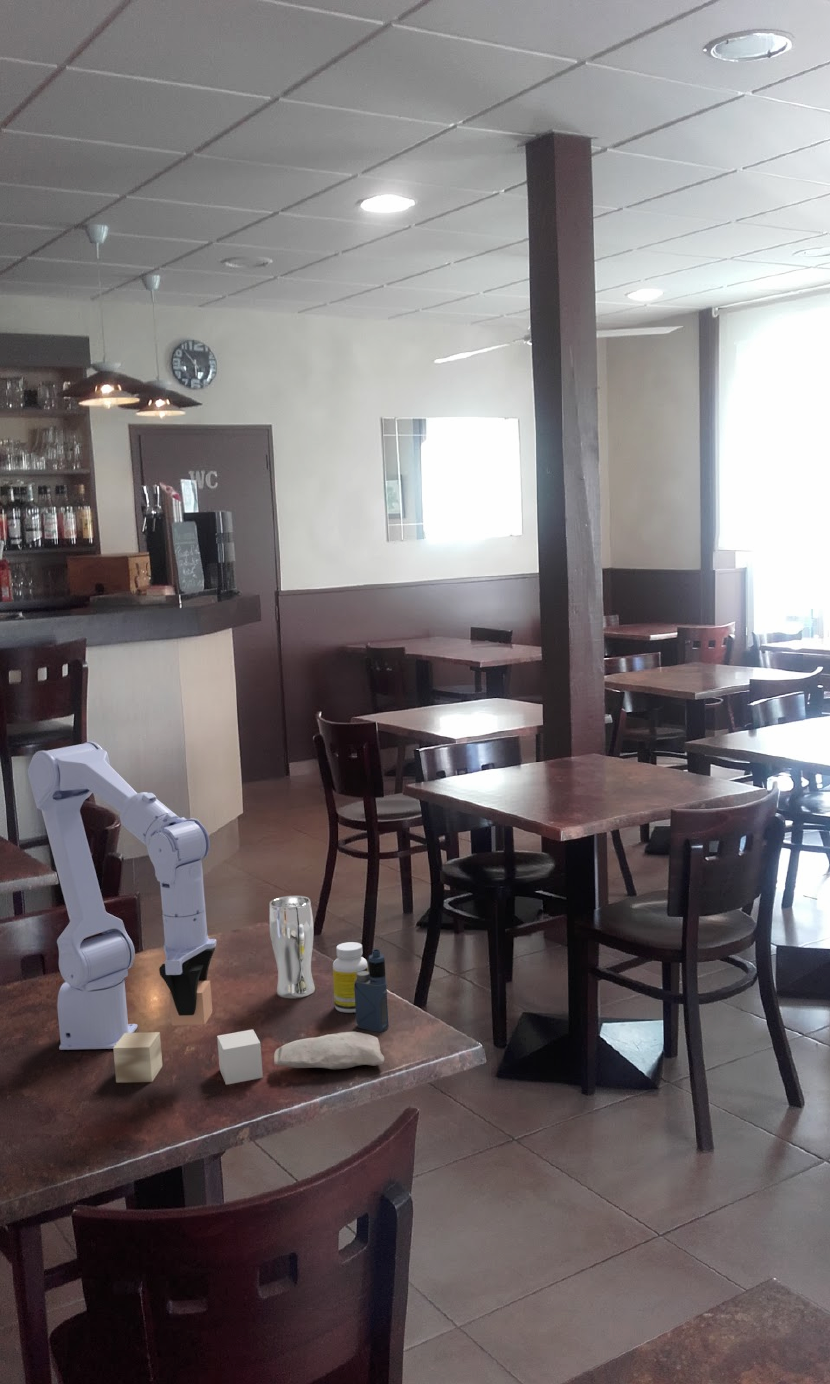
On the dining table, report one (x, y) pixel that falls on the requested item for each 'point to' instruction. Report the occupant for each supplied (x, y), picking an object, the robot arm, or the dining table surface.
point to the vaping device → (372, 995)
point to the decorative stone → (331, 1051)
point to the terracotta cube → (201, 1010)
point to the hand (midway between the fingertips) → (191, 1007)
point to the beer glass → (292, 945)
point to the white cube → (239, 1056)
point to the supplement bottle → (347, 975)
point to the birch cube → (138, 1057)
